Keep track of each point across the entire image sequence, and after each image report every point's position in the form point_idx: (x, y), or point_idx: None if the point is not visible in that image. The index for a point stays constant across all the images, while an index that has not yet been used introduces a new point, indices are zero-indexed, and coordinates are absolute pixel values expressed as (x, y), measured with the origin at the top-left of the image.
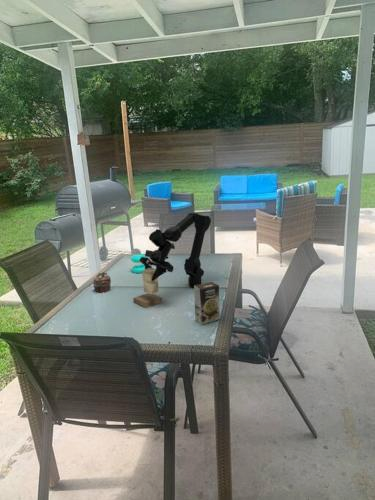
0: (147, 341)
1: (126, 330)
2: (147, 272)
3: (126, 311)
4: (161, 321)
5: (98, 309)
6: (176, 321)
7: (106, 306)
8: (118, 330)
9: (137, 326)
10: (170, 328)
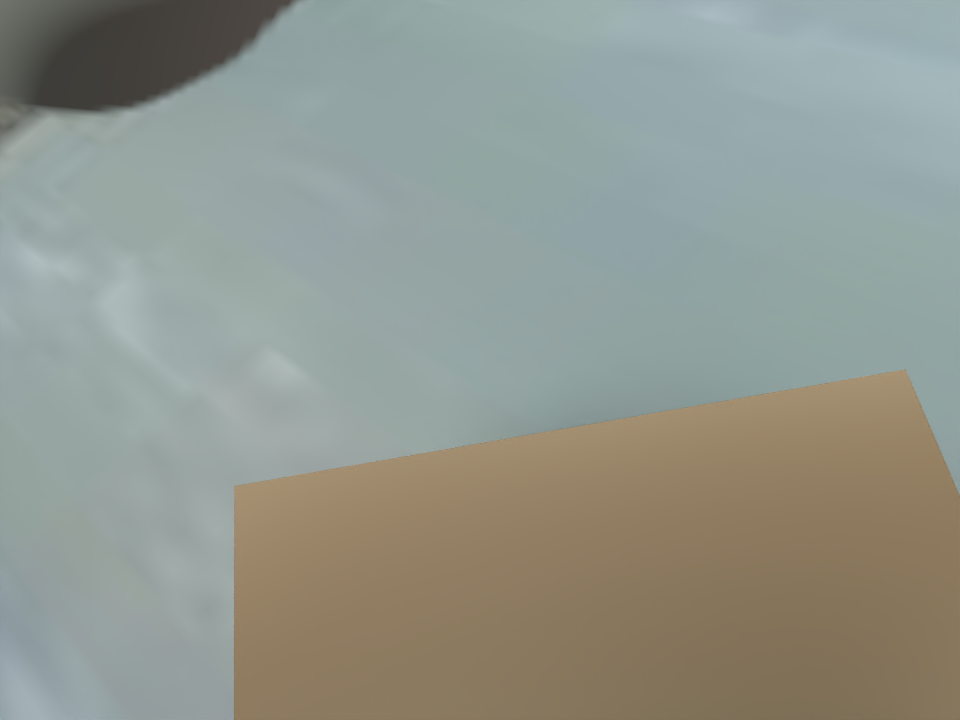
0: (38, 137)
1: (272, 101)
2: (414, 458)
3: (610, 256)
4: (162, 378)
5: (869, 78)
6: (49, 479)
7: (905, 162)
8: (319, 62)
9: (257, 186)
10: (16, 355)
